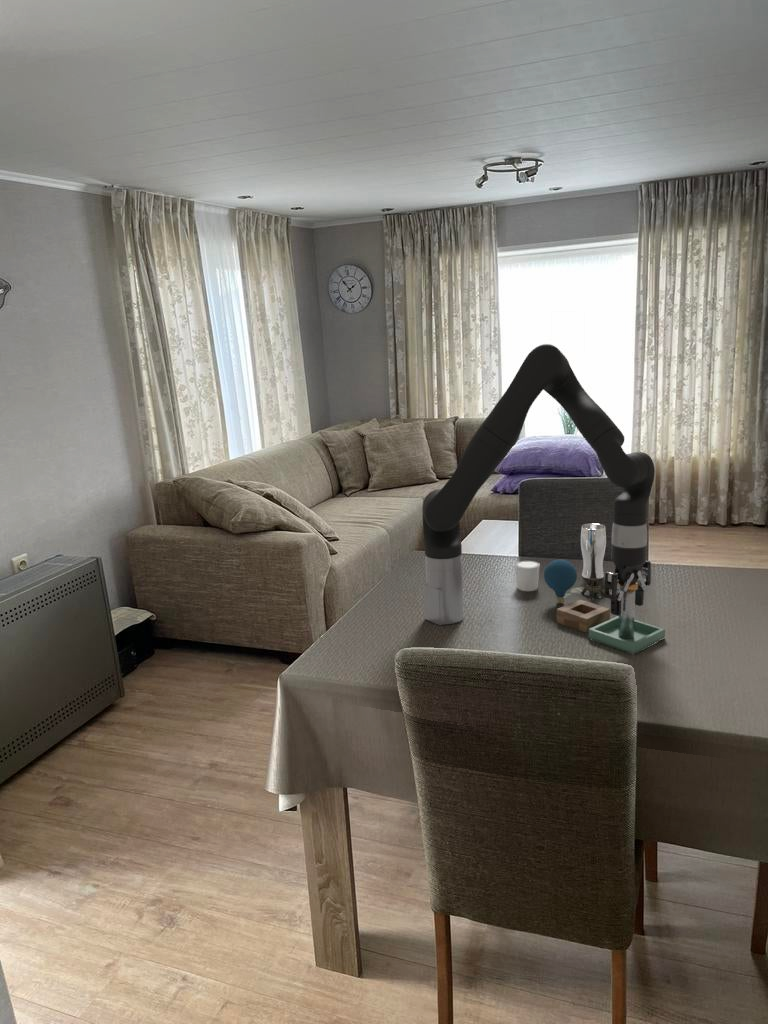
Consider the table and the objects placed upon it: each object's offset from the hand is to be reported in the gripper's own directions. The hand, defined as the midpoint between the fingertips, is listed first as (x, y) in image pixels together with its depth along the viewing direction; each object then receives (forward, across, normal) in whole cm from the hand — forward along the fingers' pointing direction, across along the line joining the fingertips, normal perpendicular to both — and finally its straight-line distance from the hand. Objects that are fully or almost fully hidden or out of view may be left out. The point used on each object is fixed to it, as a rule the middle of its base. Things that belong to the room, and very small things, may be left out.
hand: (627, 609), depth 166 cm
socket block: (+7, +1, +13) cm, 15 cm away
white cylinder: (+7, +10, +39) cm, 41 cm away
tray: (+7, 0, 0) cm, 7 cm away
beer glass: (+7, +30, +32) cm, 44 cm away
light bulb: (+7, +7, +25) cm, 27 cm away
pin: (+7, 0, 0) cm, 7 cm away
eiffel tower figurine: (+8, +18, +22) cm, 30 cm away
